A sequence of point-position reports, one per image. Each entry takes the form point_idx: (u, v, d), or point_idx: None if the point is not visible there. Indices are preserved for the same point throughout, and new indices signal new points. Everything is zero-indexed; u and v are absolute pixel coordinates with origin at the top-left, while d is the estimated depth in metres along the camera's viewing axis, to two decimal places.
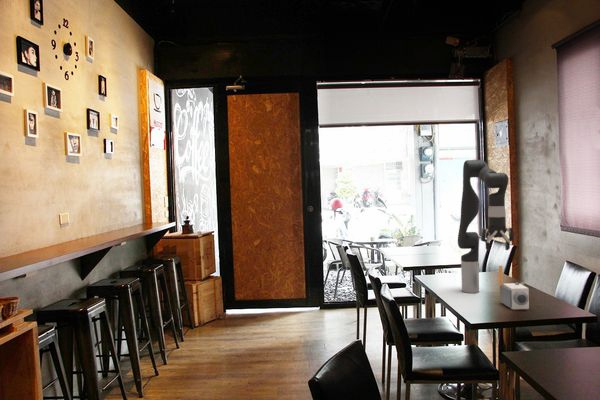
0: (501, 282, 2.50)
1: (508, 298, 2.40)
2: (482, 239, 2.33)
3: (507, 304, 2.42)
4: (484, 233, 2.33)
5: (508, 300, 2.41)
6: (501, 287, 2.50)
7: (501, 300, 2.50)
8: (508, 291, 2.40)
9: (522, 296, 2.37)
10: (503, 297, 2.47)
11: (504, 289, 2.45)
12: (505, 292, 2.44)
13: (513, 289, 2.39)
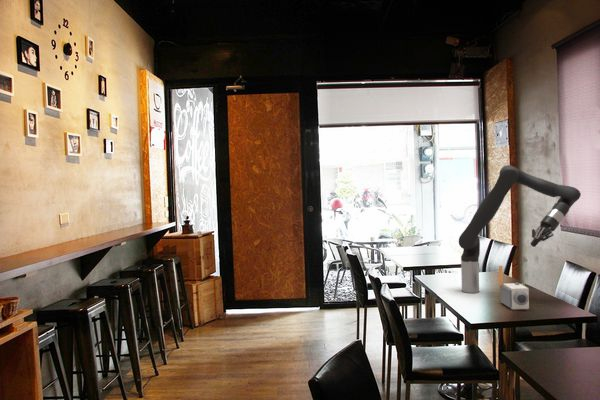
0: (501, 282, 2.50)
1: (508, 298, 2.40)
2: (544, 239, 2.47)
3: (507, 304, 2.42)
4: None
5: (508, 300, 2.41)
6: (501, 287, 2.50)
7: (501, 300, 2.50)
8: (508, 291, 2.40)
9: (522, 296, 2.37)
10: (503, 297, 2.47)
11: (504, 289, 2.45)
12: (505, 292, 2.44)
13: (513, 289, 2.39)
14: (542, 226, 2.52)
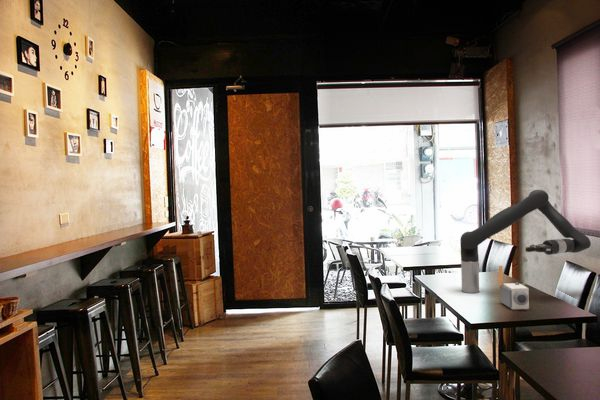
0: (501, 282, 2.50)
1: (508, 298, 2.40)
2: (539, 251, 2.52)
3: (507, 304, 2.42)
4: (545, 251, 2.51)
5: (508, 300, 2.41)
6: (501, 287, 2.50)
7: (501, 300, 2.50)
8: (508, 291, 2.40)
9: (522, 296, 2.37)
10: (503, 297, 2.47)
11: (504, 289, 2.45)
12: (505, 292, 2.44)
13: (513, 289, 2.39)
14: None
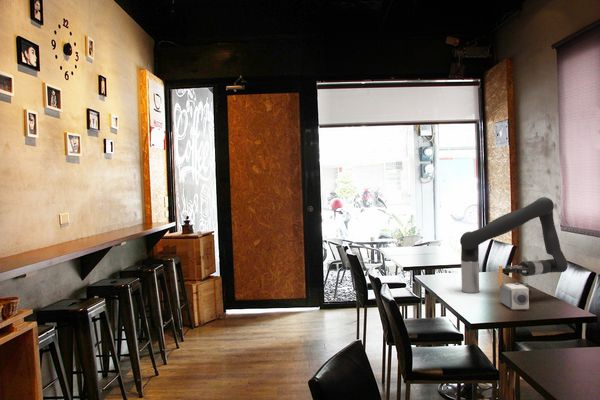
0: (501, 282, 2.50)
1: (508, 298, 2.40)
2: (515, 272, 2.48)
3: (507, 304, 2.42)
4: (521, 273, 2.48)
5: (508, 300, 2.41)
6: (501, 287, 2.50)
7: (501, 300, 2.50)
8: (508, 291, 2.40)
9: (522, 296, 2.37)
10: (503, 297, 2.47)
11: (504, 289, 2.45)
12: (505, 292, 2.44)
13: (513, 289, 2.39)
14: (519, 266, 2.55)
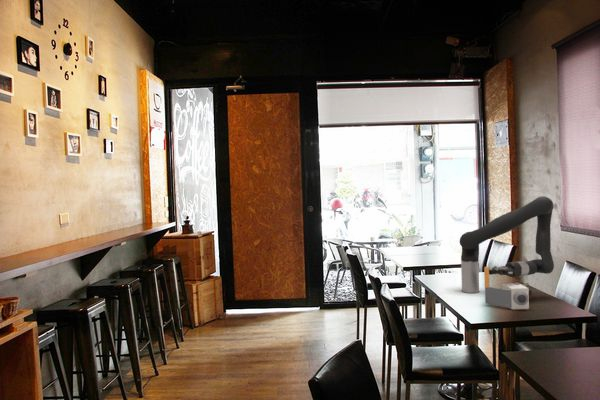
0: (488, 284, 2.47)
1: (508, 298, 2.39)
2: (501, 274, 2.46)
3: (504, 305, 2.41)
4: (507, 274, 2.46)
5: (507, 300, 2.40)
6: (489, 289, 2.47)
7: (489, 302, 2.47)
8: (507, 291, 2.40)
9: (522, 296, 2.37)
10: (494, 298, 2.45)
11: (497, 290, 2.44)
12: (499, 293, 2.43)
13: (513, 289, 2.39)
14: None
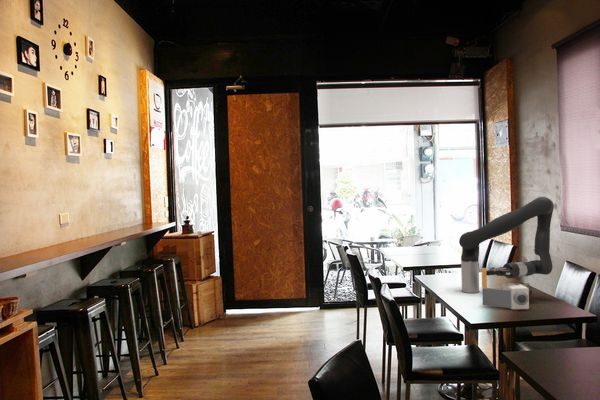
0: (486, 285, 2.45)
1: (508, 298, 2.39)
2: (499, 274, 2.44)
3: (503, 305, 2.40)
4: (505, 275, 2.44)
5: (506, 301, 2.40)
6: (486, 290, 2.45)
7: (486, 303, 2.45)
8: (507, 291, 2.39)
9: (522, 296, 2.37)
10: (492, 299, 2.44)
11: (495, 291, 2.42)
12: (498, 293, 2.42)
13: (513, 289, 2.39)
14: (503, 268, 2.50)
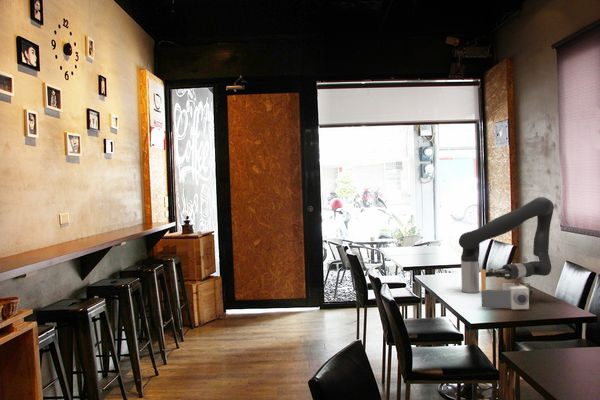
0: (485, 286, 2.41)
1: (508, 298, 2.39)
2: (498, 276, 2.40)
3: (504, 306, 2.39)
4: (504, 277, 2.40)
5: (507, 301, 2.39)
6: (486, 291, 2.41)
7: (486, 305, 2.42)
8: (507, 292, 2.39)
9: (522, 296, 2.37)
10: (492, 301, 2.41)
11: (495, 292, 2.40)
12: (498, 294, 2.40)
13: (513, 289, 2.39)
14: None
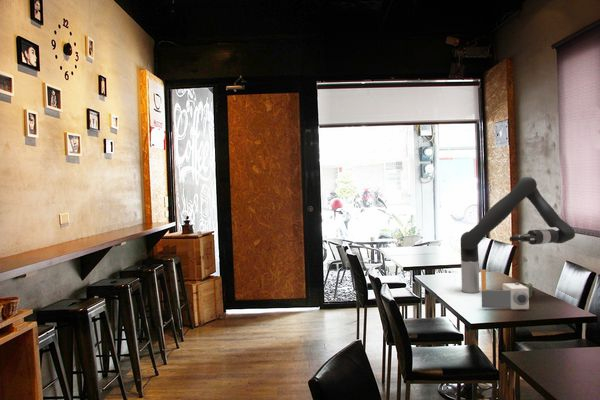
0: (485, 286, 2.41)
1: (508, 298, 2.39)
2: (523, 240, 2.50)
3: (504, 306, 2.39)
4: None
5: (507, 301, 2.39)
6: (486, 292, 2.41)
7: (486, 305, 2.41)
8: (507, 292, 2.39)
9: (522, 296, 2.37)
10: (492, 301, 2.40)
11: (495, 292, 2.40)
12: (498, 294, 2.40)
13: (513, 289, 2.39)
14: None
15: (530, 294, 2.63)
